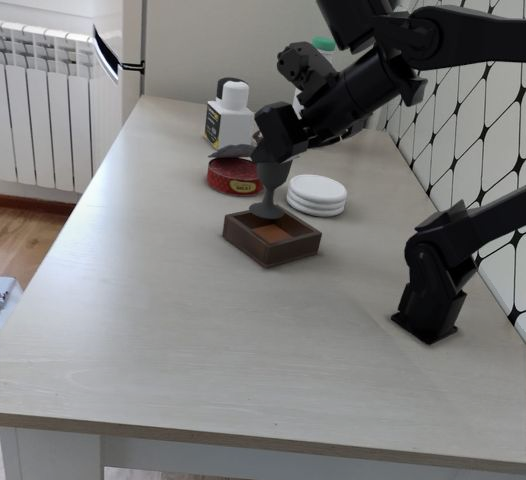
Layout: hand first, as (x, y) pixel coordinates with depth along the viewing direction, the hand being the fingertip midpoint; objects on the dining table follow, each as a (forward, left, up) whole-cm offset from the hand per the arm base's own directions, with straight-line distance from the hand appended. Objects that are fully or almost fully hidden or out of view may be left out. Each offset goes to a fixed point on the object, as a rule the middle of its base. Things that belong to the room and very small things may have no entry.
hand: (267, 154), depth 78 cm
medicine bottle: (+35, -22, -13) cm, 44 cm away
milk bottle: (+32, -40, -13) cm, 53 cm away
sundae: (-1, 0, -8) cm, 8 cm away
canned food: (+18, -11, -13) cm, 25 cm away
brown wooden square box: (-1, -2, -13) cm, 14 cm away
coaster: (+7, -19, -13) cm, 24 cm away
